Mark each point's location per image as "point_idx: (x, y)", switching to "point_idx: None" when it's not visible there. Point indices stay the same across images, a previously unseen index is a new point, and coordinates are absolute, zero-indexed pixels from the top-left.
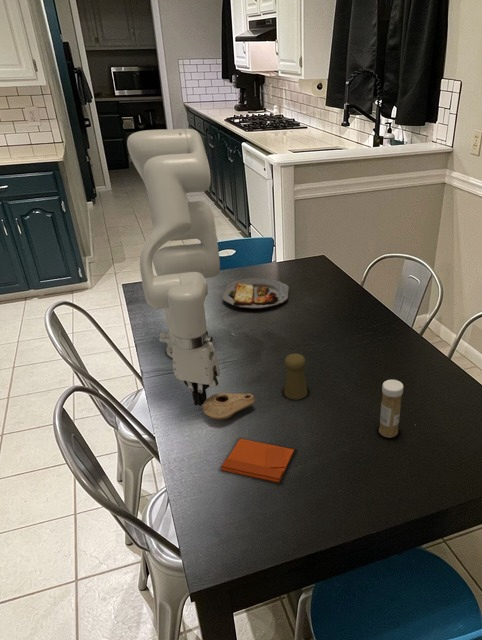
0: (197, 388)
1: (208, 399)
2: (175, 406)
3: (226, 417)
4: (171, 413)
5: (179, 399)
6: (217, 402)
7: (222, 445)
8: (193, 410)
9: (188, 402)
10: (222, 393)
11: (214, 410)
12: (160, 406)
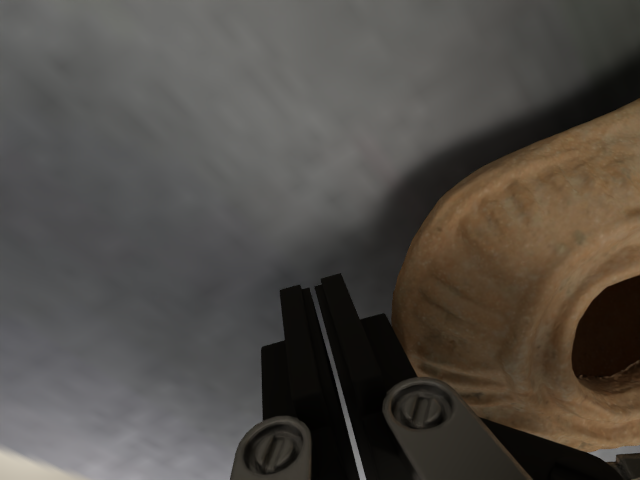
0: (345, 473)
1: (479, 391)
2: (110, 381)
3: (619, 333)
4: (161, 442)
5: (46, 306)
6: (631, 416)
7: (637, 445)
8: (274, 339)
9: (153, 293)
10: (589, 253)
11: (604, 446)
12: (11, 440)
